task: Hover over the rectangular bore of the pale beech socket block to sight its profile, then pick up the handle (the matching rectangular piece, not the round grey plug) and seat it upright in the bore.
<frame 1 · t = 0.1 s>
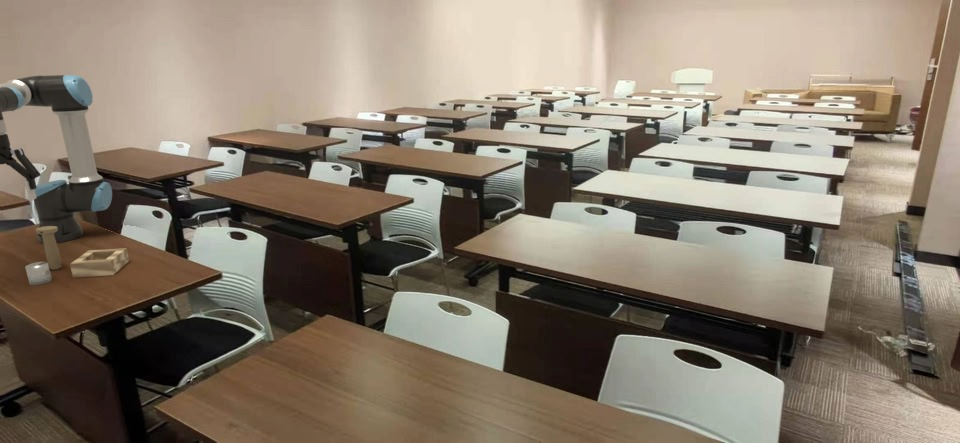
hand: (9, 200, 182), 28 cm above the table, fingers open, 13 cm apart
handle: (56, 268, 201), on the table
socket block: (102, 269, 200), on the table
round plug: (40, 281, 190), on the table
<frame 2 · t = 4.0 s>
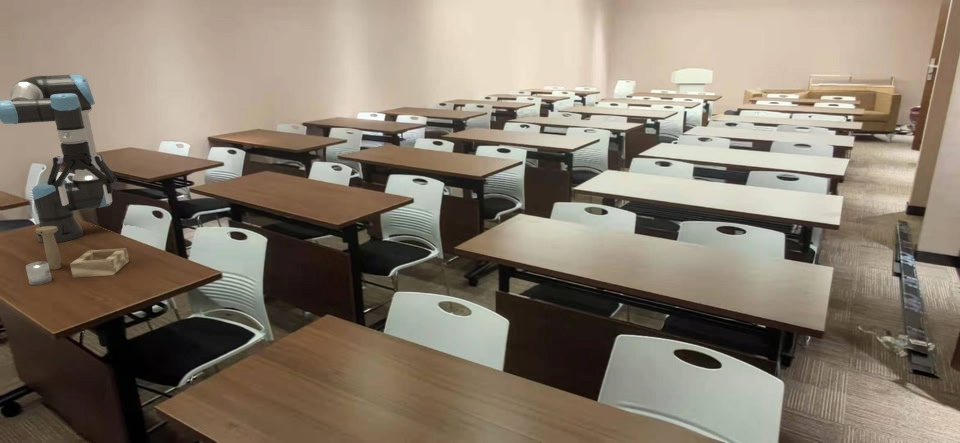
hand: (87, 203, 193), 24 cm above the table, fingers open, 13 cm apart
nothing on the table moved.
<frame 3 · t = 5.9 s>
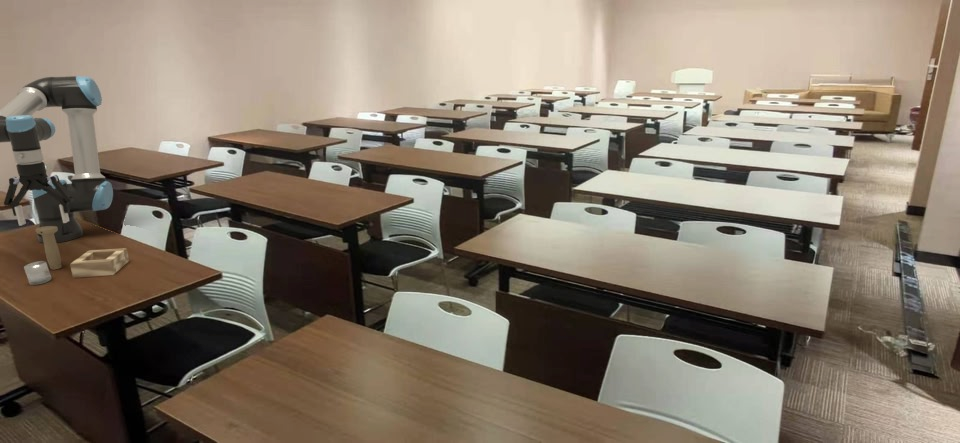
hand: (44, 223, 196), 17 cm above the table, fingers open, 13 cm apart
nothing on the table moved.
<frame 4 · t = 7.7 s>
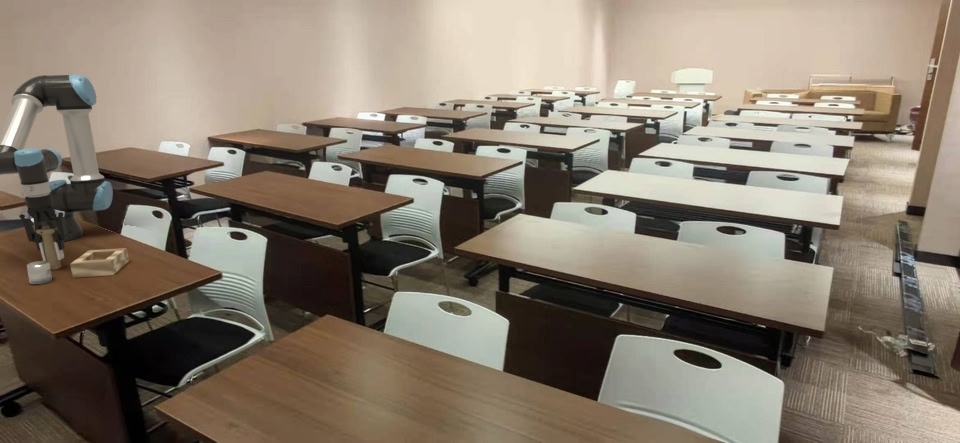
hand: (53, 258, 200), 4 cm above the table, fingers closed on handle, 4 cm apart
handle: (56, 268, 201), on the table, touching gripper
everything else where it was.
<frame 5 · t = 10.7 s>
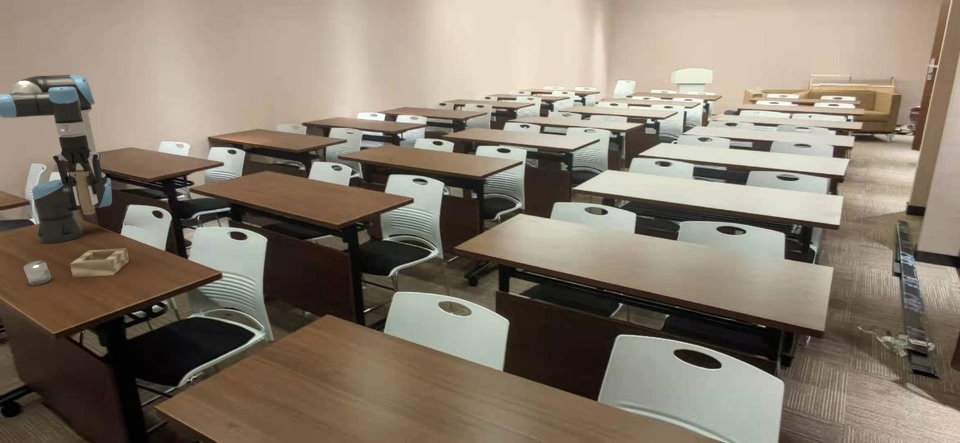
hand: (87, 203, 193), 24 cm above the table, fingers closed on handle, 4 cm apart
handle: (89, 214, 194), point 20 cm above the table, touching gripper
when the fingers open (6 cm above the table, at t = 13.6 s): handle drops 2 cm, resting on socket block.
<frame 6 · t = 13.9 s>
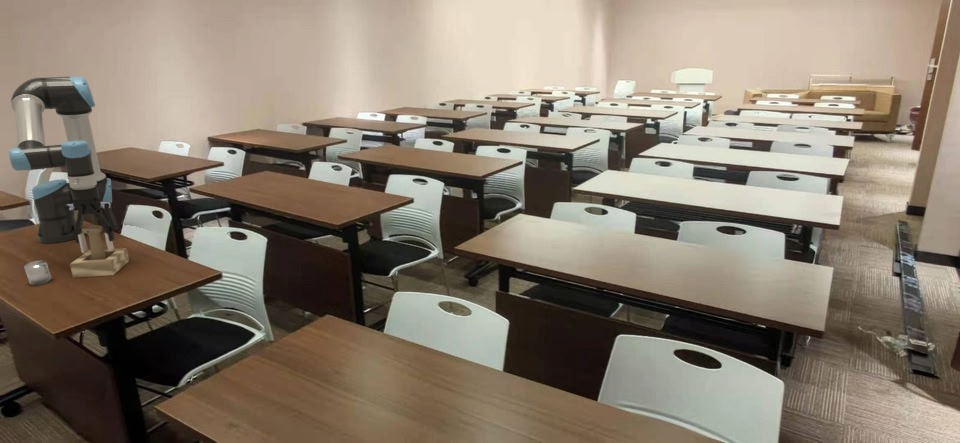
hand: (98, 250, 198), 7 cm above the table, fingers open, 8 cm apart
handle: (101, 268, 200), resting on socket block
everything else where it was.
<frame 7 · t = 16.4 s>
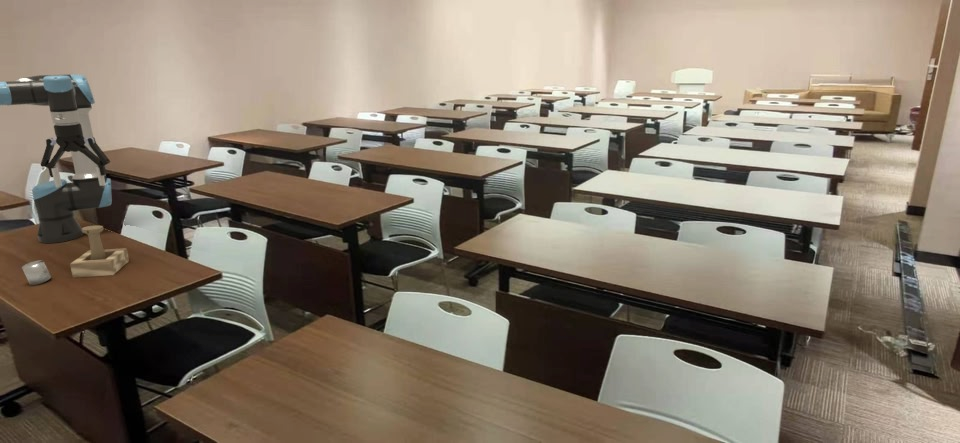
hand: (80, 185, 195), 29 cm above the table, fingers open, 13 cm apart
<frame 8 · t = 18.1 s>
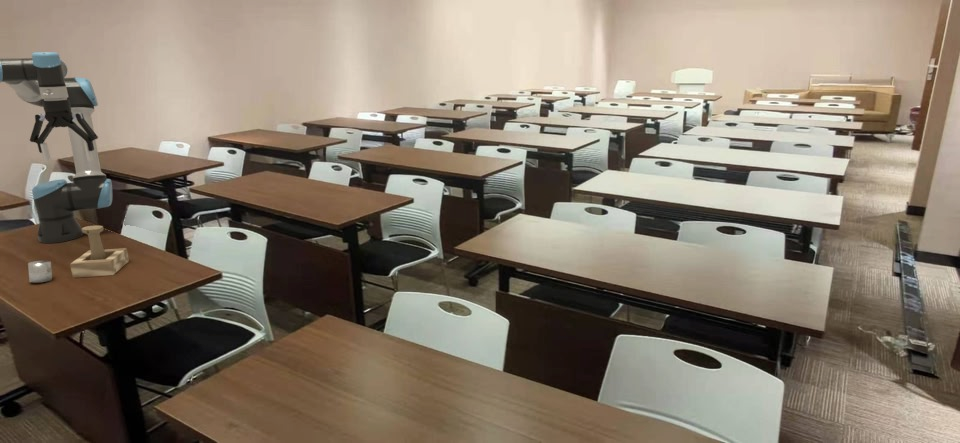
hand: (69, 161, 199), 37 cm above the table, fingers open, 13 cm apart
at the end: handle inside the target area on the socket block (0.2 cm from its centre), point 0.2 cm above the socket block's base; handle tilted 0°; the gripper is holding nothing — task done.
